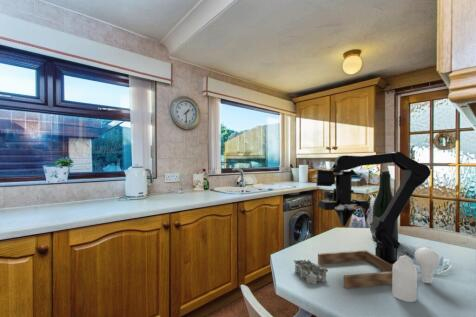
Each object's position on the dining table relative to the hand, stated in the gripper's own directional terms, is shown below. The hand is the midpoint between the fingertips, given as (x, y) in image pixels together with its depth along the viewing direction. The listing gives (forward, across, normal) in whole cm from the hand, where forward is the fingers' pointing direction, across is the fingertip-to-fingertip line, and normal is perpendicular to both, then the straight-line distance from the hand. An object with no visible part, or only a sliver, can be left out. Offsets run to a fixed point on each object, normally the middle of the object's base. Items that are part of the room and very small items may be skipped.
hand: (343, 225), depth 92 cm
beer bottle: (+12, -29, -12) cm, 34 cm away
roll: (+12, -1, +27) cm, 30 cm away
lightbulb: (+12, -14, +22) cm, 29 cm away
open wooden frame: (+12, +3, +12) cm, 18 cm away
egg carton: (+12, +20, +12) cm, 26 cm away
